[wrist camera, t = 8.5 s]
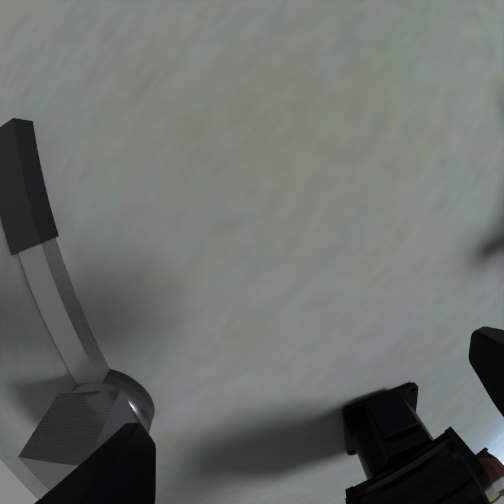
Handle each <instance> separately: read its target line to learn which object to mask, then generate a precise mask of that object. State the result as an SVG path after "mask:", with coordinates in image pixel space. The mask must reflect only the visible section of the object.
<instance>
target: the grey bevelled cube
mask: <svg viewBox="0 0 504 504" xmlns="http://www.w3.org/2000/svg"><path fill="white" fill-rule="evenodd" d="M132 422H139V423H141V422H140V420H139V418H138V417H137V415H136V414H135V412H134V410H133V409H132V407H131V405H130V404H129V402H128V400H127V398H126V397H125V395H124V393H123V391H122V390H121V389H116V390H106V391H95V392H82V393H65V394H59V395H58V396H57V398H56V399H55V401H54V402H53V404H52V405H51V407H50V408H49V410H48V411H47V413H46V414H45V416H44V417H43V419H42V420H41V422H40V423H39V425H38V426H37V428H36V429H35V431H34V433H33V434H32V436H31V437H30V439H29V440H28V442H27V444H26V445H25V447H24V448H23V450H22V452H21V453H20V455H19V458H20V459H21V461H22V462H23V463H24V464H25V465H26V466H27V467H28V468H29V469H30V471H31V472H32V473H33V474H34V475H35V476H36V477H37V478H38V479H39V480H40V481H41V482H42V483H43V484H44V485H45V486H46V487H47V488H48V489H49V490H51V489H52V488H54V487H55V486H56V485H57V484H58V483H59V482H60V481H62V480H63V479H64V478H65V477H66V476H67V475H69V474H70V473H71V472H72V471H73V470H74V469H75V468H77V467H78V466H79V465H80V464H81V463H82V462H83V461H84V460H86V459H87V458H88V457H89V456H90V455H91V454H92V453H93V452H95V451H96V450H97V449H98V448H99V447H100V446H101V445H102V444H103V443H105V442H106V441H107V440H108V439H109V438H110V437H111V436H112V435H113V434H114V433H116V432H117V431H118V430H119V429H120V428H121V427H122V426H123V425H124V424H126V423H132ZM141 424H142V423H141ZM155 446H156V444H155Z"/></svg>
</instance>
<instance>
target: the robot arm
mask: <svg viewBox="0 0 504 504" xmlns="http://www.w3.org/2000/svg"><path fill="white" fill-rule="evenodd" d="M469 361H470V364H471V365H472V367H473V369H474V370H475V372H476V374H477V375H478V377H479V379H480V381H481V382H482V384H483V386H484V387H485V389H486V391H487V393H488V394H489V396H490V398H491V399H492V401H493V403H494V404H495V406H496V407H497V408H498V410H499V411H500V413H501V414H502V416H503V417H504V330H501V329H496V328H491V327H486V326H484V327H481V328H479V329H477V330H475V331H474V332H473V333H472V335H471V341H470V349H469ZM417 395H418V386H417V385H416V383H410V384H407V385H405V386H402V387H400V388H397V389H395V390H392V391H390V392H387V393H384V394H382V395H379V396H376V397H373V398H370V399H367V400H365V401H362V402H359V403H356V404H352V405H349V406H347V407H345V408H344V409H343V410H342V415H343V424H344V433H345V444H346V452H347V454H348V455H354V454H358V457H359V459H360V462H361V464H362V467H363V470H364V472H365V475H366V477H367V480H366V481H364V482H362V483H360V484H358V485H356V486H354V487H353V486H352V487H350V488H348V489H346V490H345V491H346V498H345V500H346V504H491V503H490V501H489V499H488V497H487V495H486V493H485V492H486V491H488V490H489V489H490V488H491V487H492V485H491V481H490V479H489V477H488V475H487V473H486V471H485V469H484V467H483V466H482V464H481V462H480V461H479V460H478V458H477V457H476V456H475V454H474V453H473V452H472V451H471V450H470V448H469V447H468V446H467V445H466V444H465V442H464V441H463V440H462V439H461V438H460V437H459V435H458V434H457V433H456V432H455V431H454V430H453V429H452V427H449V428H448V429H446V430H445V432H444V433H443V434H441V435H440V436H439V437H437V438H436V439H433V438H432V436H431V435H430V433H429V432H428V430H427V428H426V427H425V425H424V424H423V422H422V421H421V419H420V418H419V416H418V415H417V413H416V406H417ZM349 411H350V412H349ZM155 493H156V447H155V443H154V441H153V440H152V438H151V437H150V435H149V434H148V432H147V431H146V429H145V427H144V426H143V425H142V424H141V423H139V422H132V423H126V424H124V425H123V426H122V427H121V428H120V429H119V430H118V431H117V432H116V433H114V434H113V435H112V436H111V437H110V438H109V439H108V440H107V441H106V442H105V443H103V444H102V445H101V446H100V447H99V448H98V449H97V450H96V451H95V452H93V453H92V454H91V455H90V456H89V457H88V458H87V459H86V460H84V461H83V462H82V463H81V464H80V465H79V466H78V467H77V468H75V469H74V470H73V471H72V472H71V473H70V474H69V475H67V476H66V477H65V478H64V479H63V480H62V481H60V482H59V483H58V484H57V485H56V486H55V487H54V488H52V489H51V490H50V491H49V492H48V493H46V494H45V495H44V496H43V497H42V499H39V500H38V501H37V502H36V503H35V504H155Z"/></svg>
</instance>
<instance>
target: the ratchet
mask: <svg viewBox="0 0 504 504" xmlns="http://www.w3.org/2000/svg"><path fill="white" fill-rule="evenodd" d="M0 217H1V220H2V224H3V228H4V231H5V235H6V238H7V242H8V245H9V248H10V251H11V255H14V254H17V253H18V254H19V257H20V260H21V263H22V266H23V269H24V271H25V274H26V277H27V280H28V282H29V285H30V288H31V290H32V293H33V295H34V298H35V300H36V303H37V305H38V307H39V310H40V312H41V314H42V317H43V319H44V321H45V323H46V325H47V328H48V330H49V332H50V334H51V336H52V338H53V340H54V342H55V344H56V346H57V348H58V350H59V352H60V354H61V356H62V358H63V360H64V362H65V364H66V365H67V367H68V369H69V371H70V373H71V375H72V376H73V378H74V380H75V382H76V383H77V385H76V386H75V388H74V390H73V391H72V393H82V392H95V391H106V390H116V389H121V390H122V391H123V393H124V395H125V397H126V398H127V400H128V402H129V404H130V405H131V407H132V409H133V410H134V412H135V414H136V415H137V417H138V418H139V420H140V422H141V423H142V425H143V426H144V427H145V429H146V431H147V432H148V434H149V430H150V427H151V423H152V420H153V417H154V410H155V409H154V404H153V401H152V399H151V397H150V395H149V394H148V392H147V391H146V390H145V389H144V388H143V387H142V386H141V385H140V384H139V383H138V382H137V381H135V380H134V379H132V378H131V377H129V376H127V375H125V374H123V373H121V372H118V371H115V370H111V369H110V368H109V366H108V364H107V362H106V360H105V358H104V356H103V354H102V352H101V350H100V348H99V346H98V344H97V342H96V340H95V338H94V336H93V334H92V331H91V329H90V327H89V325H88V323H87V320H86V318H85V316H84V313H83V311H82V309H81V306H80V304H79V301H78V299H77V296H76V294H75V291H74V289H73V286H72V284H71V281H70V278H69V276H68V273H67V270H66V267H65V265H64V262H63V259H62V256H61V253H60V250H59V247H58V244H57V241H56V237H58V236H59V235H58V232H57V228H56V225H55V222H54V218H53V215H52V211H51V207H50V204H49V200H48V196H47V192H46V188H45V183H44V179H43V175H42V170H41V165H40V160H39V155H38V150H37V144H36V139H35V132H34V126H33V121H28V120H22V119H16V118H13V119H11V120H10V121H8V122H7V123H5V124H4V125H2V126H1V127H0Z"/></svg>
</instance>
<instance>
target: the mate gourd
mask: <svg viewBox="0 0 504 504" xmlns="http://www.w3.org/2000/svg"><path fill="white" fill-rule="evenodd" d="M487 451H488V449H487V448H486V447H485V448H484V449H483V450H482V451H480V452H479V453H478V454H477V455H475V456H476V457H477V458H478V460H479V461H480V462H481V464H482V466H483V467H484V469H485V471H486V473H487V475H488V477H489V479H490V481H491V485H492V487H491V488H490V489H489V490H488V491H486V492H485V493H486V495H487V497H488V499H489V501H490V503H491V504H493V503H494V502H495V501H497V500H498V499H499V498H500V497H501V496H502V495H503V496H504V465H503V464H502V463H501V462H500V461H499V460H498V459H497V458H496V457H494V456H493V455H491V454H490V453H488V452H487Z"/></svg>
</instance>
